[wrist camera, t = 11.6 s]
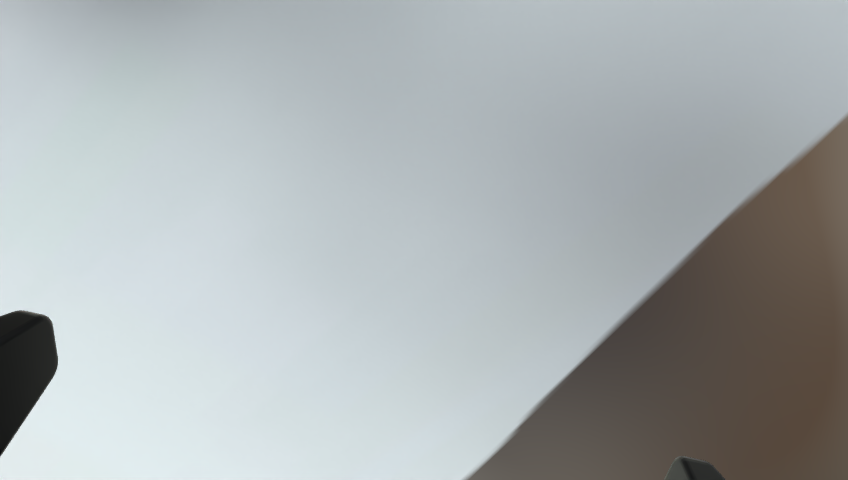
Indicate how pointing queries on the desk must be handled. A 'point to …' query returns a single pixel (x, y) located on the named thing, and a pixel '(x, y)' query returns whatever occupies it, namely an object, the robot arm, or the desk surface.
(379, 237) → the desk surface
